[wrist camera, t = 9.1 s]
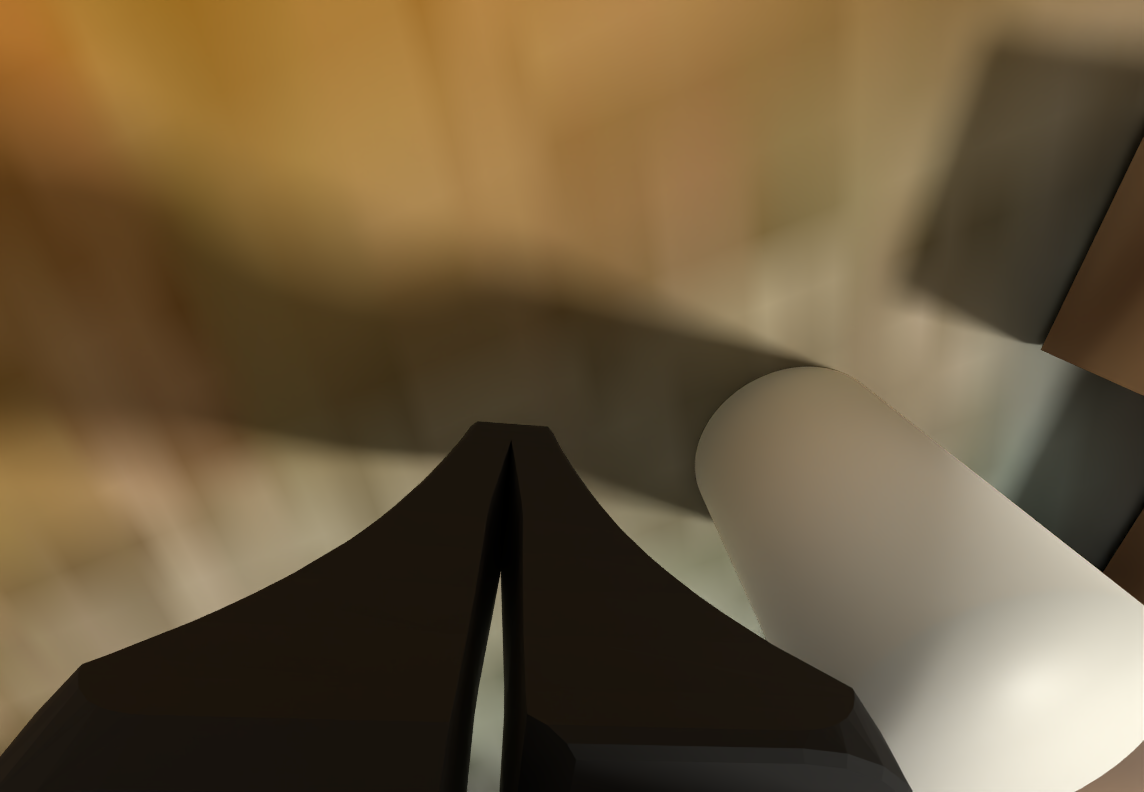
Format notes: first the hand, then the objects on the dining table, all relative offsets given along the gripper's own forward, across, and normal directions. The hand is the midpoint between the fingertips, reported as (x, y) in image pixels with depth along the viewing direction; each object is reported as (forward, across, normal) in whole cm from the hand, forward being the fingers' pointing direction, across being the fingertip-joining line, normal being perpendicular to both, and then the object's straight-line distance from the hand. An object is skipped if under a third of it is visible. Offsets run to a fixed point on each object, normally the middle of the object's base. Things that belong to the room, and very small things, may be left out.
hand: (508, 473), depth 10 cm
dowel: (+1, -6, 0) cm, 6 cm away
